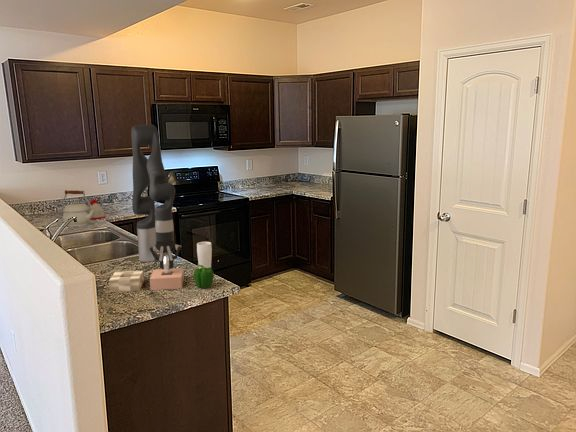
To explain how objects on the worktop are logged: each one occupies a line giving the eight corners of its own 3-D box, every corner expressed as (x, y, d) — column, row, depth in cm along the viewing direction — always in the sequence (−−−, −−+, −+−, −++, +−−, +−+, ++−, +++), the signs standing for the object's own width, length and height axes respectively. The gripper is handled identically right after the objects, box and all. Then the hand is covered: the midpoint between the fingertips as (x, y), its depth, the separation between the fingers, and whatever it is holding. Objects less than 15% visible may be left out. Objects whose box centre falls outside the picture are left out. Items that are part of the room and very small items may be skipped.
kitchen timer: (81, 219, 340) (80, 200, 337) (94, 216, 353) (92, 197, 350) (97, 220, 336) (95, 200, 333) (109, 217, 349) (107, 198, 346)
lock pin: (164, 280, 196) (162, 254, 194) (171, 280, 197) (170, 254, 194) (163, 283, 193) (162, 256, 191) (170, 282, 194) (169, 256, 191)
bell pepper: (217, 284, 195) (216, 262, 193) (209, 290, 187) (208, 267, 185) (199, 282, 197) (198, 261, 195) (191, 289, 189) (190, 266, 187)
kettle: (55, 226, 313) (51, 191, 309) (72, 221, 331) (68, 188, 326) (87, 228, 309) (84, 192, 305) (102, 222, 327) (100, 189, 322)
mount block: (115, 282, 198) (115, 271, 197) (143, 281, 199) (143, 270, 198) (109, 292, 186) (108, 280, 185) (139, 290, 188) (138, 279, 187)
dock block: (154, 280, 201) (153, 269, 200) (183, 278, 203) (183, 268, 202) (150, 290, 188) (149, 278, 187) (181, 288, 190) (181, 277, 189)
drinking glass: (207, 271, 213) (206, 240, 210) (215, 274, 208) (214, 243, 205) (195, 274, 208) (193, 243, 206) (203, 277, 204) (202, 245, 201)
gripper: (181, 227, 195) (183, 265, 199) (148, 228, 193) (151, 266, 196) (180, 231, 188) (182, 270, 191) (146, 232, 186) (148, 272, 189)
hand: (166, 268), depth 194 cm, fingers closed on lock pin, 3 cm apart
